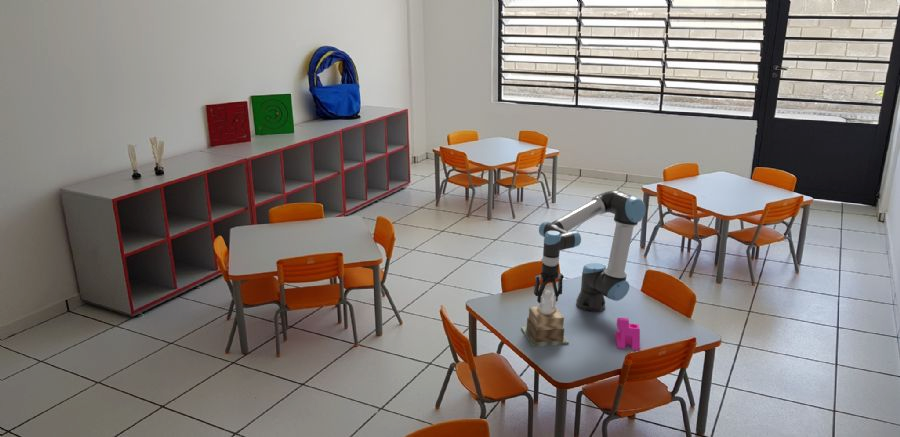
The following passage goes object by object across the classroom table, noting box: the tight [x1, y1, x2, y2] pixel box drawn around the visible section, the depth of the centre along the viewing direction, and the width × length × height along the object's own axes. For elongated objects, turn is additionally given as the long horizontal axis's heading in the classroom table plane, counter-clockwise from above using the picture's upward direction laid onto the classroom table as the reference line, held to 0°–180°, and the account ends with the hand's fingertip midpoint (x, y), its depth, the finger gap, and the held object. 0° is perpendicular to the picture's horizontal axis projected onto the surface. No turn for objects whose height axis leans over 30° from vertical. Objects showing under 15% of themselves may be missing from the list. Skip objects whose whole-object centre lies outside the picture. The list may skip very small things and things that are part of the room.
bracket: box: [614, 317, 641, 351], centre depth 341 cm, size 12×10×10 cm
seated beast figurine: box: [536, 289, 558, 315], centre depth 340 cm, size 10×9×12 cm
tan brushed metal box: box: [521, 305, 570, 348], centre depth 345 cm, size 18×18×13 cm
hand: (546, 307), depth 342 cm, fingers open, 6 cm apart
